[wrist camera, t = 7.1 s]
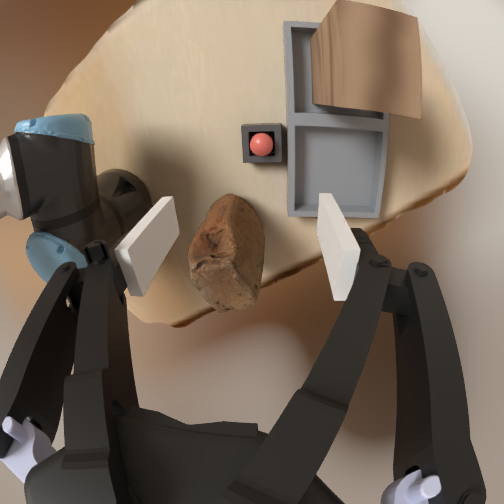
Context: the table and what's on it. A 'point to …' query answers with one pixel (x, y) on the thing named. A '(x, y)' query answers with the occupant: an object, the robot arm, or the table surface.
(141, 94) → the table surface
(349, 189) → the gray divided tray
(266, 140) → the button
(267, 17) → the table surface
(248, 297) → the block
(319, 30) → the seated billet
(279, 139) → the button housing
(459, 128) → the table surface
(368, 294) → the robot arm
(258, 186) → the table surface
